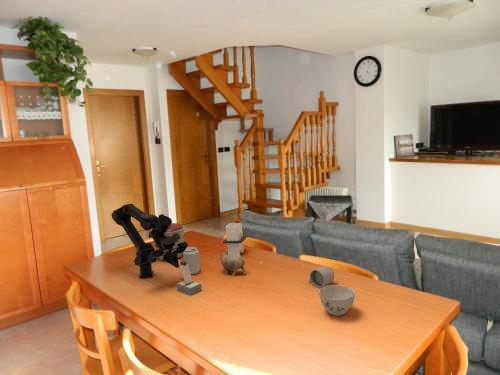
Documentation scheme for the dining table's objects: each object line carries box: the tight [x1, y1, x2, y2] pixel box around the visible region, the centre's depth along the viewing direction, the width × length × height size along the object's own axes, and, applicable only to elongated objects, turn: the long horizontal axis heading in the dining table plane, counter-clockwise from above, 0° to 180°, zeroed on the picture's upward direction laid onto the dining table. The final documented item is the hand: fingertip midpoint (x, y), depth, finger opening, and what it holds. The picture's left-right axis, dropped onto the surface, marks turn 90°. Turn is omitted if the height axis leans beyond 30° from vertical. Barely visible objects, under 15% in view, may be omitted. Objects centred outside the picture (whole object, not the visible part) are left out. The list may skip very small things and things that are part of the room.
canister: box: [150, 222, 185, 261], centre depth 211 cm, size 18×18×21 cm
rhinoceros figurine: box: [218, 251, 247, 277], centre depth 183 cm, size 8×14×15 cm
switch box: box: [176, 280, 203, 296], centre depth 166 cm, size 9×6×3 cm, turn 49°
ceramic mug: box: [308, 266, 335, 289], centre depth 165 cm, size 11×8×8 cm
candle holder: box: [222, 222, 247, 256], centre depth 212 cm, size 25×24×16 cm
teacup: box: [318, 284, 356, 317], centre depth 140 cm, size 15×12×8 cm
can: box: [182, 246, 201, 275], centre depth 187 cm, size 8×8×12 cm
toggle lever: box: [179, 260, 194, 284], centre depth 165 cm, size 3×3×10 cm
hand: (178, 267), depth 169 cm, fingers closed
